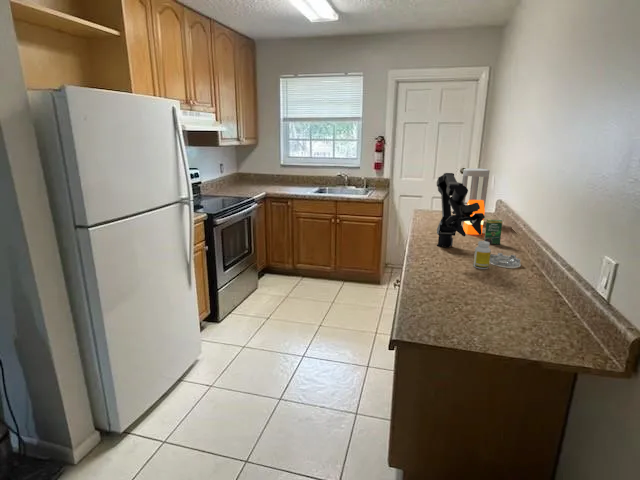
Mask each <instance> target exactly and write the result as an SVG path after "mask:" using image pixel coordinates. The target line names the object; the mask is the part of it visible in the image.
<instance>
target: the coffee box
mask: <svg viewBox="0 0 640 480" xmlns="http://www.w3.org/2000/svg"><path fill="white" fill-rule="evenodd" d="M502 226H503V219H502V220H501V219H491V218H490V219H489V218H487V219H486V224H485V233H484V240H483V241H487V242H489V243H490V245H492V244H493V245H500V244H501V239H502V238H501V235H502V228H503V227H502Z"/></svg>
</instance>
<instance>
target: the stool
mask: <svg viewBox="0 0 640 480" xmlns="http://www.w3.org/2000/svg"><path fill="white" fill-rule="evenodd" d="M489 176H490V170H489V169H486V168H477V167H476V168H474V167H473V168H472V167H471V168H468V167H467V168H464V169H463V173H462V181H461V183H463V186H465V187H466V188H467V186H468V178H469V177H471V181H470V188H469V189H470V190H469V197H468V198H469V199H468V201H469V200H478V199H477V198H478V189H479V188H478V187H479V182H480V181H479V180H480V178H482V187H481V195H480V200H484V208H485V209H486V200H487V193H488V186H489V178H490V177H489ZM467 189H468V188H467ZM468 201H466V198H465V199H464V201H463V202H464V204H465V205H467V203H468Z"/></svg>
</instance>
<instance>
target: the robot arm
mask: <svg viewBox="0 0 640 480" xmlns="http://www.w3.org/2000/svg"><path fill="white" fill-rule="evenodd" d="M436 187H437V191H438V192H439V194H440V197H441V198H440V199H441V219H440V221H439V223H438V225H437V229H436V234H437V235H438V239H437V240H438V241H437V244H436V246H437V247H440V248H441V247H442V248H448V249H449V248H451V247H452V246H453V242H454V236H456V232H457V233H458V234H460V235H461V236H463V237H466V236H467V234H466V233H465V231H464V229H463V225H462V222H463V223H464V221H470V223H472V227H473V228H474V229H475V230H476V231H477V233H478V234H479V236H481V234H483V231H482V232H481V221H482V220H483V219H484V220H485V218H486V217H485V213H484V214H483V213H475V214H474V215H473V216H472V217H470V215H472V214H473V213H472V212H475V211H478V209H480V206H479V204H478V203H473V204H470V205H467V204H464V202H463V201H464V199H465V200H466V197H467V194H468V192H469V190H468V188H466V187H465V186H463V183H462V182H458V180H457V179H456V177H455V174H454V173H453V172H444V173H443V174H442V175H440V176H439V177H437V180H436ZM478 234H477V235H478Z"/></svg>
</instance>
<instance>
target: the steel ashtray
mask: <svg viewBox="0 0 640 480" xmlns="http://www.w3.org/2000/svg"><path fill="white" fill-rule="evenodd" d="M489 265H492V266H495V267H498V268H503V269H518V268H521V266H522V264H521V258H517V255H515V254H510V255H506V254H505V255H504V254H503V252H497V254H492V253H491V254H490V261H489Z"/></svg>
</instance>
